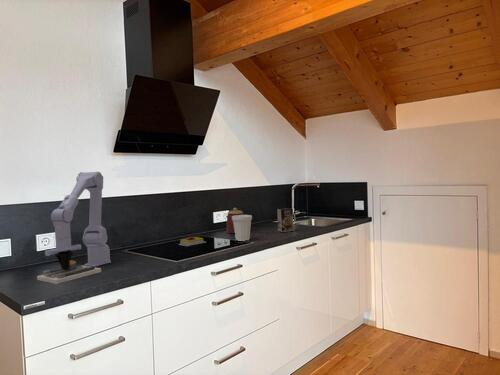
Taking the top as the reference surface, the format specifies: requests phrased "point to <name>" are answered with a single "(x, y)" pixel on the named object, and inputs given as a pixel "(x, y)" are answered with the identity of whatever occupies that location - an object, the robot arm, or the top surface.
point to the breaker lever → (71, 266)
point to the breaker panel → (67, 274)
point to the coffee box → (285, 219)
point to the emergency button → (191, 241)
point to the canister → (230, 222)
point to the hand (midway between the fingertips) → (64, 269)
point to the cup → (242, 227)
